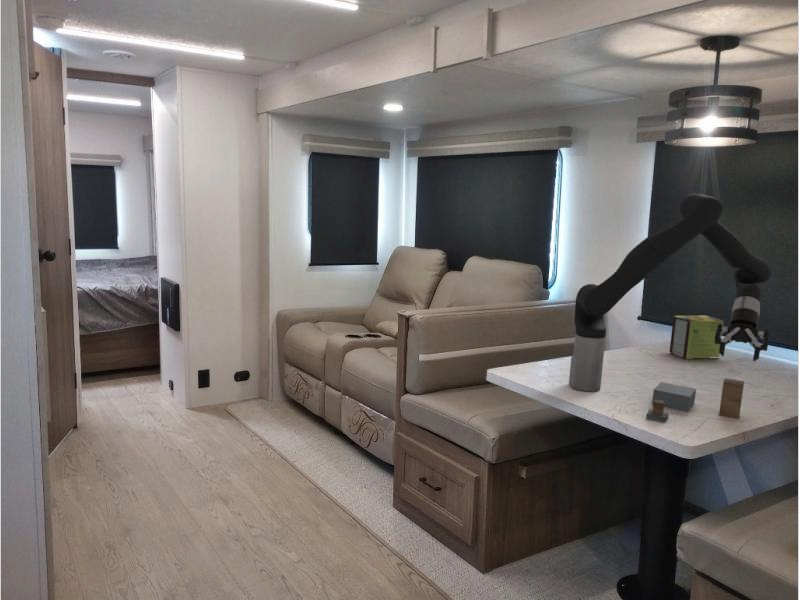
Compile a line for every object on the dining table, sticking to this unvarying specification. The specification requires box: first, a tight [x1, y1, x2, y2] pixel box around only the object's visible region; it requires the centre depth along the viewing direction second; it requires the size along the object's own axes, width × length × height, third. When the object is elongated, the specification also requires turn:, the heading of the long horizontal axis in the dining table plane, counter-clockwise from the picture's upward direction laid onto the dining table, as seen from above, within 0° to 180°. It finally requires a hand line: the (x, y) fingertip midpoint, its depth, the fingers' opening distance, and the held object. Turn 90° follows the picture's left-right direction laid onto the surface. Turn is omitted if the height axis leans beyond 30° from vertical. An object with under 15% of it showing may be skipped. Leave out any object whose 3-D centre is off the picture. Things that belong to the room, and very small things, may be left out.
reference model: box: [645, 399, 669, 424], centre depth 172 cm, size 5×5×5 cm
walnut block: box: [718, 377, 745, 420], centre depth 177 cm, size 5×5×10 cm
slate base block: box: [651, 381, 697, 413], centre depth 185 cm, size 10×10×5 cm
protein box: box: [669, 315, 724, 360], centre depth 246 cm, size 10×15×16 cm
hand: (738, 357), depth 185 cm, fingers open, 8 cm apart
